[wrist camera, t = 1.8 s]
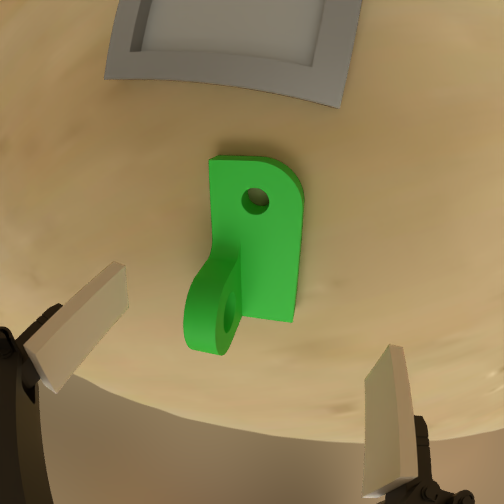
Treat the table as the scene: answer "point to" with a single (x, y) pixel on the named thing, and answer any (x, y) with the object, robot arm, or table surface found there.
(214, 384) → the table surface
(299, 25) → the locating tray
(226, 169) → the mechanical part
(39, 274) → the table surface
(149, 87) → the table surface
